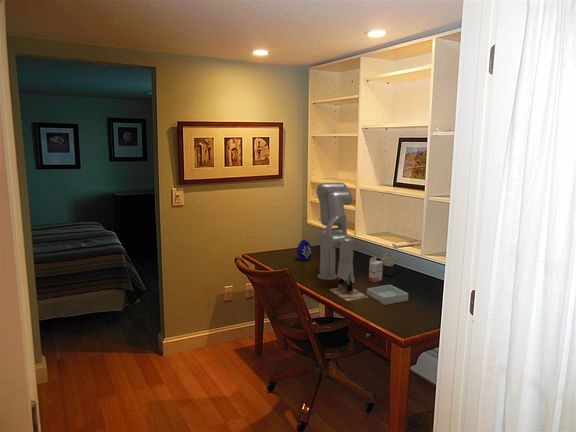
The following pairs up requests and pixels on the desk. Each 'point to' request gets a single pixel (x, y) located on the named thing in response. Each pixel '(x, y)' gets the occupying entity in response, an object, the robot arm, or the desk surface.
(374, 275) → the ink cartridge box
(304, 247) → the ornament
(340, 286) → the tabbed ring
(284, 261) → the desk surface
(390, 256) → the character mug
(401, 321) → the desk surface
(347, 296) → the stake board
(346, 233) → the robot arm
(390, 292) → the tray
